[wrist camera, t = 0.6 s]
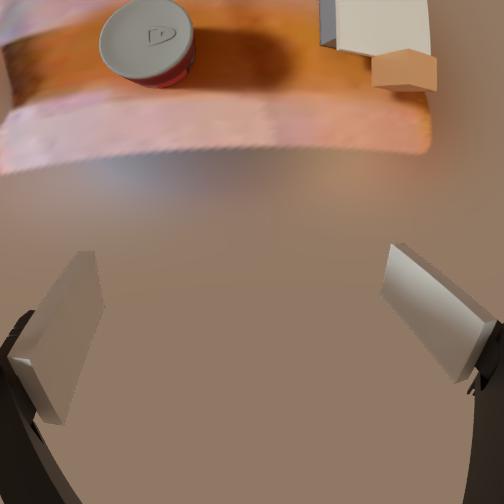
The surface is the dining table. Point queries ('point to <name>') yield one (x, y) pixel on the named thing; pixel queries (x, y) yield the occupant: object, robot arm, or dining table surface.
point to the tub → (327, 23)
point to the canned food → (149, 43)
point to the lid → (389, 41)
